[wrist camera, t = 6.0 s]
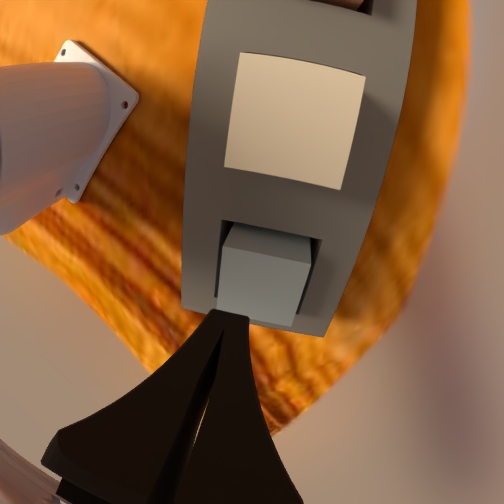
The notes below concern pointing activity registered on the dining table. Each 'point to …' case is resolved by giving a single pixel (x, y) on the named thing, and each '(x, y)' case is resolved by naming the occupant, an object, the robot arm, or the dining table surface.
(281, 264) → the slate key
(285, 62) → the white key
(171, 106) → the dining table surface
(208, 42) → the key panel
